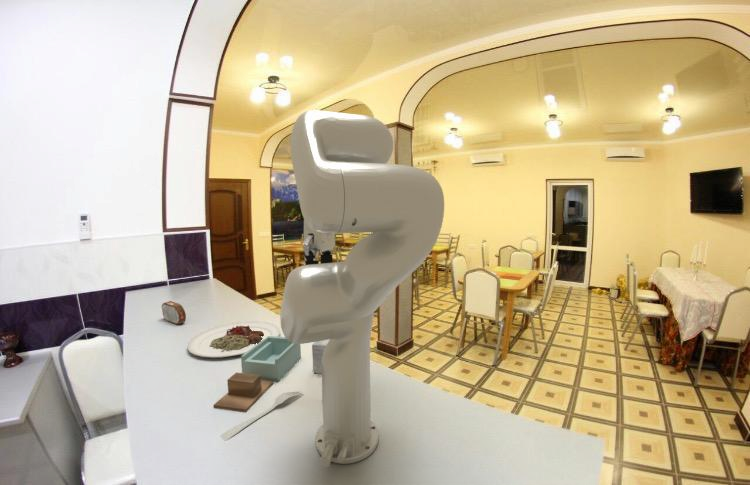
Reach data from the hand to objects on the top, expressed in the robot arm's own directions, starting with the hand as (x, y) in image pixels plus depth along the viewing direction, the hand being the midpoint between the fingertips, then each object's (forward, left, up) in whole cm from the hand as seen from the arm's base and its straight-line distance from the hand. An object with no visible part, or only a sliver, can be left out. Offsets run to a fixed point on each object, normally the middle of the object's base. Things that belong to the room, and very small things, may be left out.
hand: (320, 272), depth 80 cm
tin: (+33, +79, -31) cm, 91 cm away
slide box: (+6, +18, -30) cm, 36 cm away
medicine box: (+9, +3, -31) cm, 32 cm away
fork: (-14, +9, -31) cm, 35 cm away
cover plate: (-8, +18, -31) cm, 36 cm away
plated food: (+21, +41, -31) cm, 55 cm away
